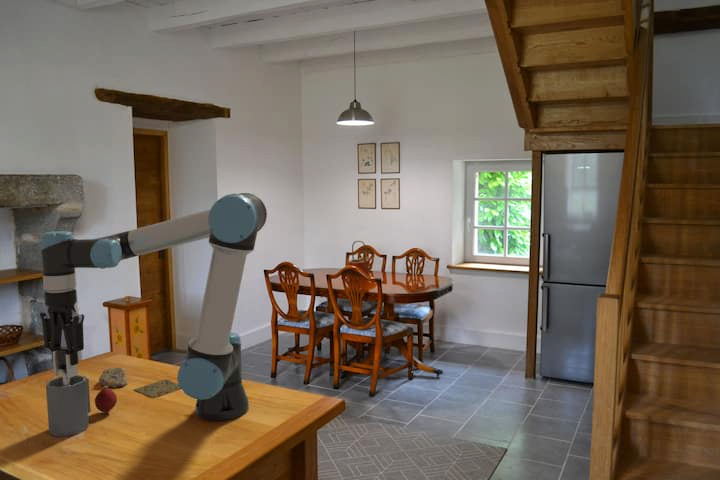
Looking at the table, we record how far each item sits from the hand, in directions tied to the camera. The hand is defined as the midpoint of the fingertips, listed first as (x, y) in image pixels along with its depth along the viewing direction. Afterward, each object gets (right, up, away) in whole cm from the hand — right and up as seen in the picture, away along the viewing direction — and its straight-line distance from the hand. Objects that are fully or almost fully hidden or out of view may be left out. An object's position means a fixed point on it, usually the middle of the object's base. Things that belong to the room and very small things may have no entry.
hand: (65, 375), depth 154 cm
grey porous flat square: (+14, -12, +31) cm, 36 cm away
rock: (-2, -12, +36) cm, 38 cm away
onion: (+6, -14, +12) cm, 19 cm away
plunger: (0, -11, +1) cm, 12 cm away
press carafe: (0, -15, +2) cm, 15 cm away
